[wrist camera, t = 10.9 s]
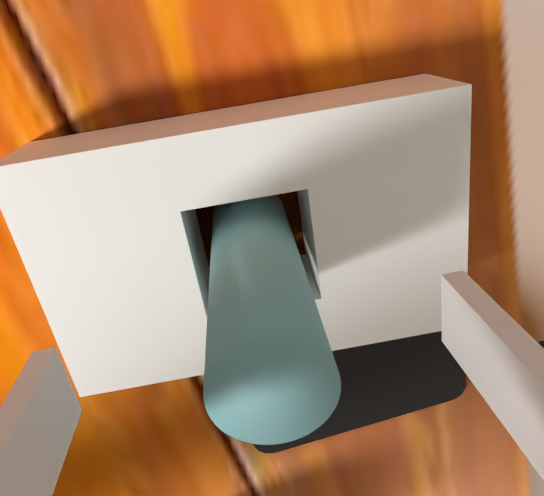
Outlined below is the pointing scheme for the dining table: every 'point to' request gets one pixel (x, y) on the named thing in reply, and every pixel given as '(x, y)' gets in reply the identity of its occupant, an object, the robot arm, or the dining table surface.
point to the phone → (387, 384)
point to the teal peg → (264, 330)
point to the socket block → (237, 187)
